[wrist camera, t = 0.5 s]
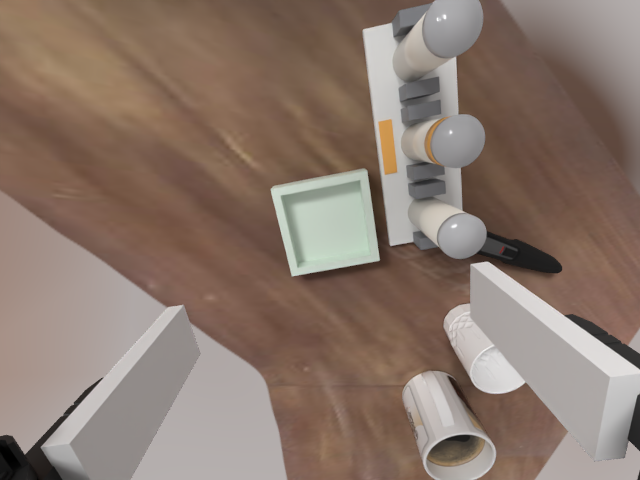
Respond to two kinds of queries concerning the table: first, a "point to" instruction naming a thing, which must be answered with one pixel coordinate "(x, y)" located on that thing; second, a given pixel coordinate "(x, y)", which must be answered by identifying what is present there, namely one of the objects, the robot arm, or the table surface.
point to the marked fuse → (445, 141)
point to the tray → (327, 222)
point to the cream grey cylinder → (438, 37)
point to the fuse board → (397, 115)
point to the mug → (447, 428)
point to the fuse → (448, 227)
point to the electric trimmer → (518, 254)
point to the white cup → (479, 354)
